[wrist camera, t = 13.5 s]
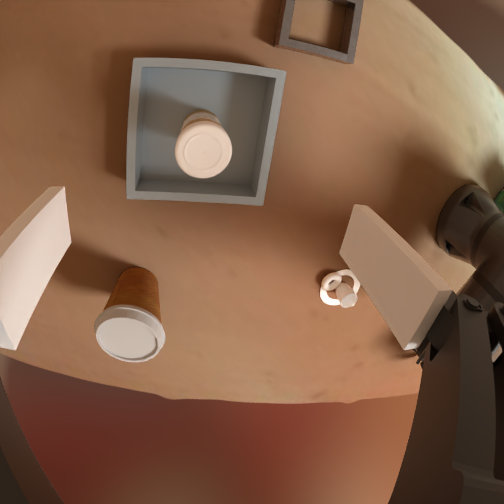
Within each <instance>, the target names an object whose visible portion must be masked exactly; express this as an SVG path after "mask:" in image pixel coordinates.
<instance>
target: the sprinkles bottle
mask: <svg viewBox="0 0 504 504" xmlns="http://www.w3.org/2000/svg"><path fill="white" fill-rule="evenodd" d="M231 156H232V144H231V141H230V138H229V136H228V134H227V133H226V131H225V130H224V129H223V128H222V126H221V124H220V122H219V120H218V118H217V117H216V115H215V114H214V113H212V112H210V111H208V110H203V109H199V110H195V111H192V112H191V113H190V114H188V115H187V116H186V118H185V119H184V121H183V126H182V129H181V132H180V135H179V136H178V139H177V141H176V145H175V157H176V161H177V163H178V165H179V166H180V168H181V169H182V170H183V171H184V172H185V173H187V174H188V175H190V176H192V177H196V178H209V177H213V176H215V175H217V174H219V173H220V172H222V171H223V170H224V169H225V168H226V167H227V165H228V163H229V162H230V159H231Z"/></svg>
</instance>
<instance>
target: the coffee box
mask: <svg viewBox="0 0 504 504" xmlns="http://www.w3.org/2000/svg"><path fill="white" fill-rule="evenodd" d="M494 202H495V203H496V204H497V206H498V207H499V208H500V210H501V211H502V212H503V213H504V188H503V189H502V191H501V192H500V193H499V195H497V197H496V198H495V200H494Z"/></svg>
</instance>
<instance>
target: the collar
mask: <svg viewBox="0 0 504 504" xmlns="http://www.w3.org/2000/svg"><path fill="white" fill-rule="evenodd" d="M328 1H331V2H334V3H337V4H340V5H343V6H346V7H347V9H346V15H345V21H344V28H343V34H342V40H341V45H340V51H339V52H338V51H335V50H331V49H328V48H324V47H321V46H317V45H313V44H309V43H305V42H301V41H296V40H292V39H289V33H290V28H291V22H292V16H293V10H294V4H295V0H282V1H281V7H280V12H279V18H278V24H277V30H276V35H275V41H274V47H278V48H283V49H288V50H293V51H297V52H301V53H306V54H310V55H314V56H318V57H322V58H325V59H329V60H333V61H336V62H340V63H343V64H353V63H354V57H355V51H356V46H357V40H358V33H359V27H360V21H361V14H362V7H363V0H328Z"/></svg>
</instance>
